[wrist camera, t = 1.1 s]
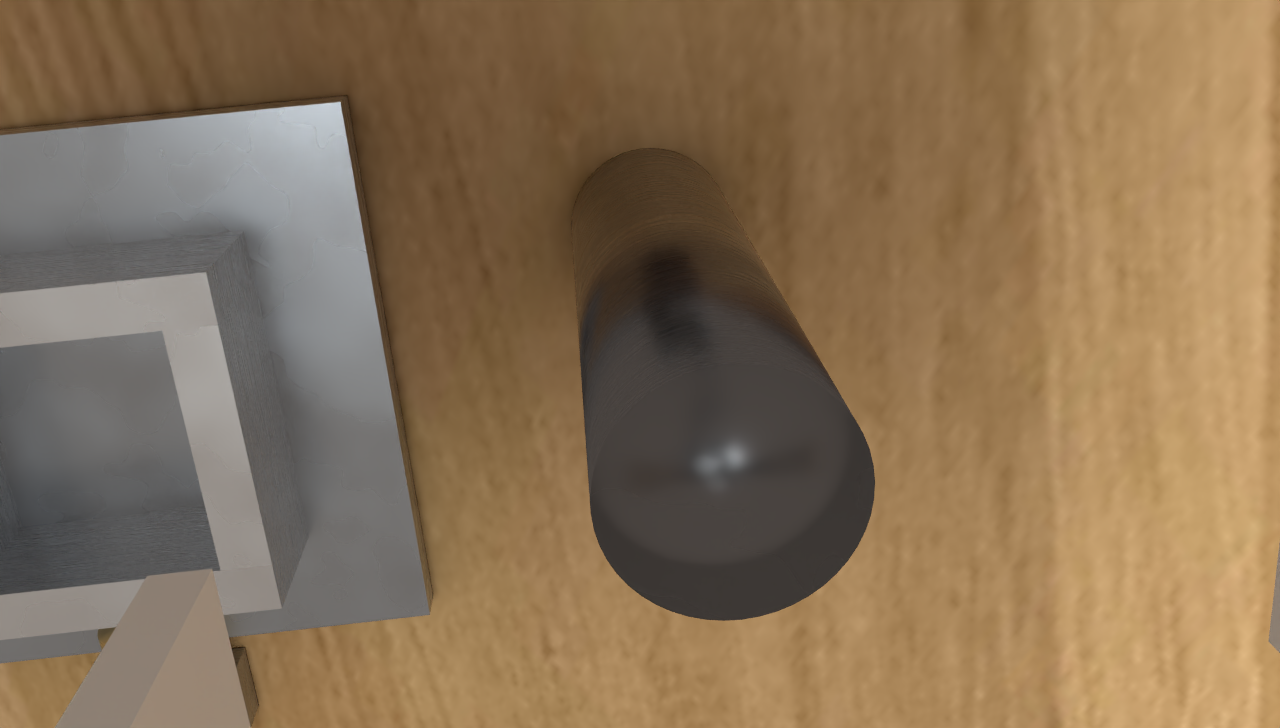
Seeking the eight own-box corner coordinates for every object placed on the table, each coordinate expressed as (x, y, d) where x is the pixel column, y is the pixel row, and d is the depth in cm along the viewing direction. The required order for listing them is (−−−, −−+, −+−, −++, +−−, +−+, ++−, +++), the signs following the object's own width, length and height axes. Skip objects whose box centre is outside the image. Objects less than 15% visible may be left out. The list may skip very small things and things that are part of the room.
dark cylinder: (563, 156, 30) (575, 380, 16) (723, 140, 30) (873, 348, 16) (579, 308, 32) (604, 634, 18) (732, 293, 32) (876, 604, 18)
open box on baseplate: (-247, 153, 29) (-382, 197, 25) (346, 95, 29) (313, 128, 25) (-34, 753, 35) (-113, 870, 31) (450, 698, 36) (437, 804, 31)
